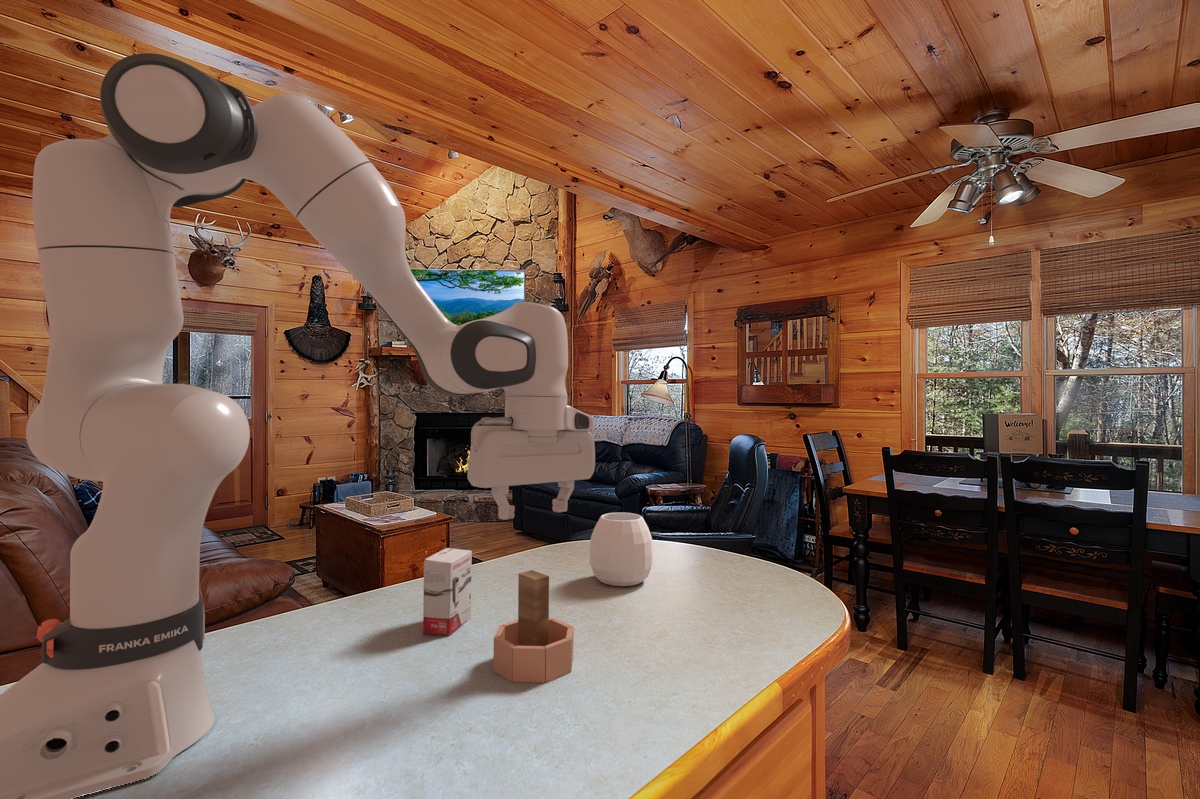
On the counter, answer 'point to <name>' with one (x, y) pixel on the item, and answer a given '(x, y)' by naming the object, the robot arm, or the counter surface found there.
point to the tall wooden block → (533, 609)
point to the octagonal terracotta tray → (533, 654)
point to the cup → (621, 549)
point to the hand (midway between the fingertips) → (534, 515)
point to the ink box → (447, 591)
